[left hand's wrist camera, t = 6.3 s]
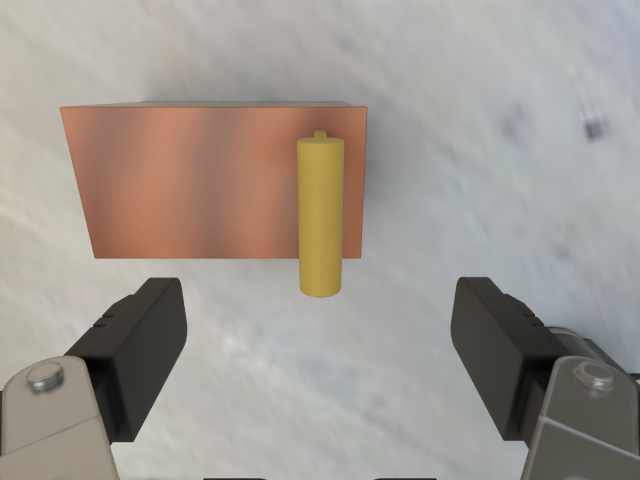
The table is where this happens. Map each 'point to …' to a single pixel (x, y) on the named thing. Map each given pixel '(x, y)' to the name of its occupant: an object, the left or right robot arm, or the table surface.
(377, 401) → the table surface
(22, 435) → the left robot arm
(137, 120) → the lid
